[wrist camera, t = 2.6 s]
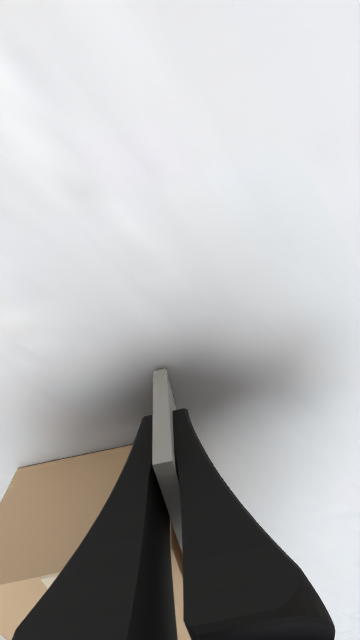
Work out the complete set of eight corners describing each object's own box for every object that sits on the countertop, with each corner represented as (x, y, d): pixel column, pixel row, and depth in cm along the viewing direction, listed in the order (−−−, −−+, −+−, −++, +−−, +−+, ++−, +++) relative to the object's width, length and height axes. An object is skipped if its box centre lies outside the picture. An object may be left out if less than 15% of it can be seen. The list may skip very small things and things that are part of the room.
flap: (209, 541, 18) (226, 646, 14) (200, 542, 18) (214, 649, 14) (165, 368, 12) (172, 460, 8) (153, 370, 12) (152, 464, 8)
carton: (195, 541, 19) (209, 655, 14) (81, 564, 19) (57, 687, 14) (166, 437, 14) (172, 552, 10) (17, 467, 14) (-48, 597, 10)
